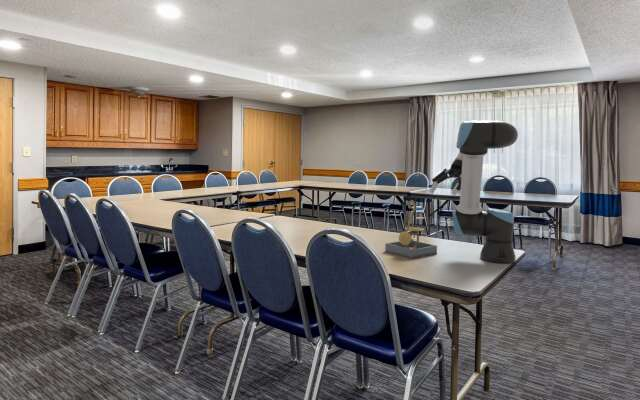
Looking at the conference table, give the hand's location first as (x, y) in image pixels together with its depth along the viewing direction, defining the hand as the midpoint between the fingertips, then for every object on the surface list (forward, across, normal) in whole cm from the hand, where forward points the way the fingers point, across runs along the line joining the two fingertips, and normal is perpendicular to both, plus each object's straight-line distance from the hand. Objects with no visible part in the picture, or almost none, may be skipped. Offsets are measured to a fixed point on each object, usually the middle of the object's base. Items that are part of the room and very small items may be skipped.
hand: (441, 193), depth 218 cm
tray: (+34, +2, -6) cm, 35 cm away
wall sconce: (+34, +2, -6) cm, 34 cm away
